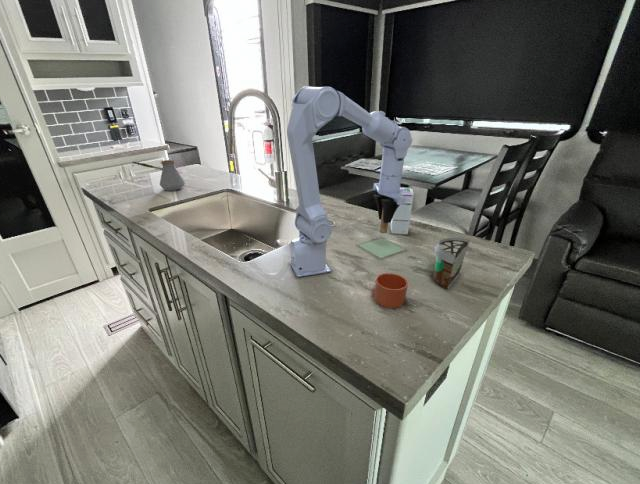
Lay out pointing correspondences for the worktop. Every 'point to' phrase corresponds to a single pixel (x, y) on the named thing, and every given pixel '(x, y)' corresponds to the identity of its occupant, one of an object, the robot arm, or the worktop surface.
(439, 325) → the worktop surface
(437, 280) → the food container
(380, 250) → the napkin
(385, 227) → the stirrer
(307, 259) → the robot arm
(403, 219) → the syrup box
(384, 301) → the cup
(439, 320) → the worktop surface
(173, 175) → the coffee pot
